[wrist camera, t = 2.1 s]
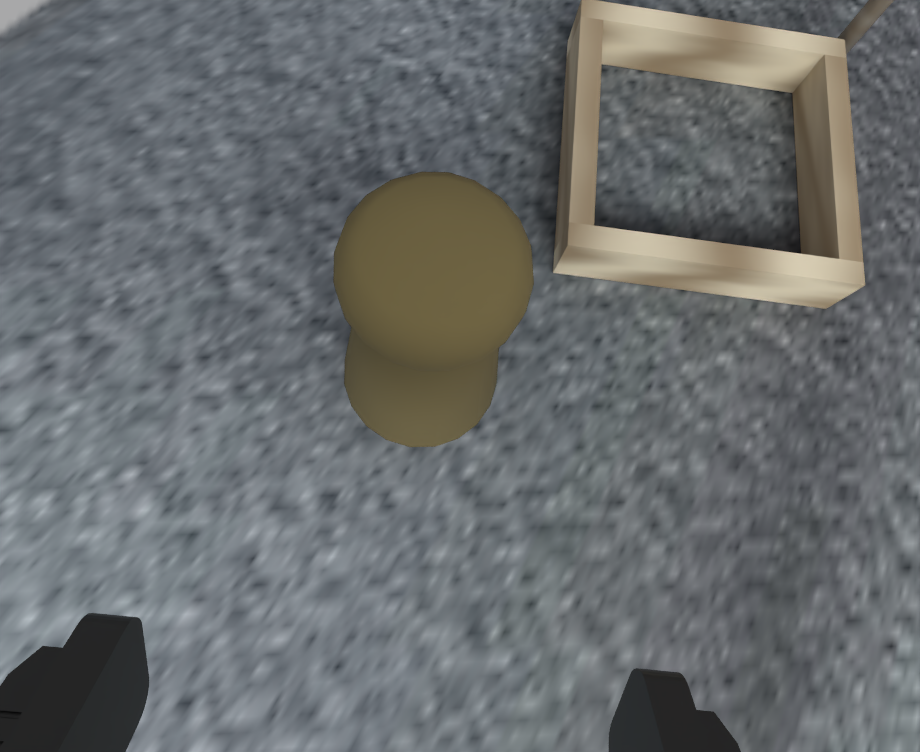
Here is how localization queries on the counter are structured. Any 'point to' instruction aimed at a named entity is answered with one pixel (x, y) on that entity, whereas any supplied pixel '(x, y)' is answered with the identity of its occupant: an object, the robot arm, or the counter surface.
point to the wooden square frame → (735, 62)
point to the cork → (429, 303)
